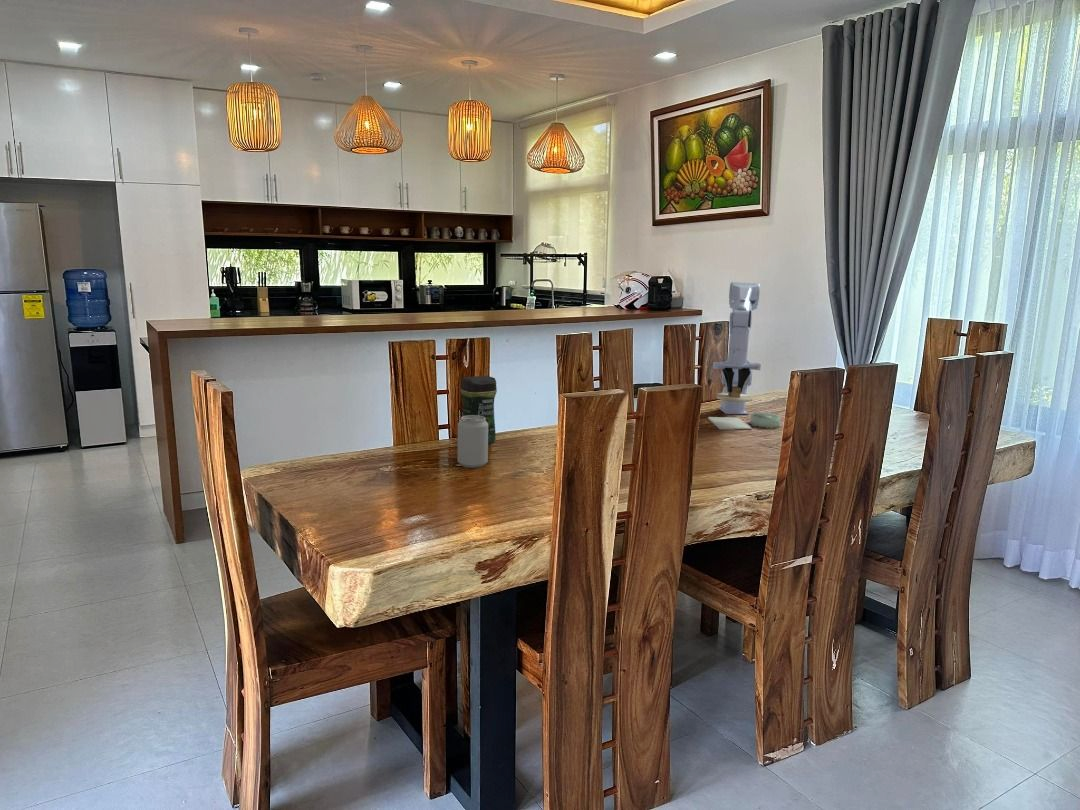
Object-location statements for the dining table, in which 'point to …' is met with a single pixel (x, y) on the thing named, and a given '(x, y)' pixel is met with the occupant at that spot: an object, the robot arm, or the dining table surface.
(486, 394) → the coffee jar
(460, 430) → the can
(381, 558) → the dining table surface
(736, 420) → the mat
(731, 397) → the lid
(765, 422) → the bowl
